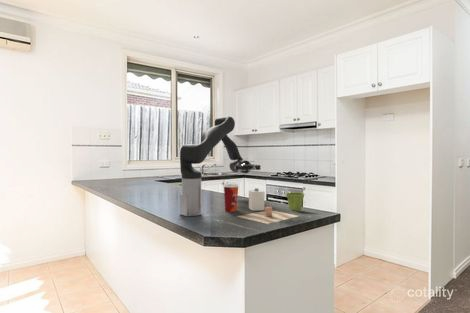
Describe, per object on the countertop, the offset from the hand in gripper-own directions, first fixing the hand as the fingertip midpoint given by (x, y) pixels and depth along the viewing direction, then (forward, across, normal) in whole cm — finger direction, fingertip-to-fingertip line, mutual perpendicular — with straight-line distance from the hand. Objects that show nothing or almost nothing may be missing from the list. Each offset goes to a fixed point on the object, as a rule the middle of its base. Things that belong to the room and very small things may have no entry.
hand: (250, 168), depth 156 cm
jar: (+28, 0, +20) cm, 35 cm away
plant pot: (+15, +19, +21) cm, 33 cm away
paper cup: (+12, -14, +21) cm, 28 cm away
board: (+28, 0, +21) cm, 35 cm away
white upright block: (+11, 0, +21) cm, 24 cm away
